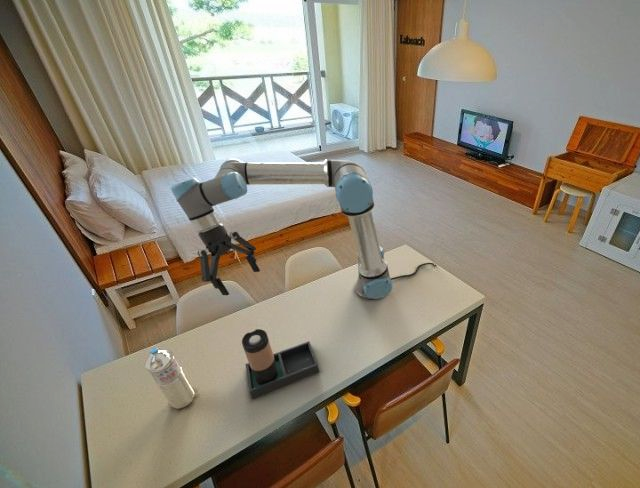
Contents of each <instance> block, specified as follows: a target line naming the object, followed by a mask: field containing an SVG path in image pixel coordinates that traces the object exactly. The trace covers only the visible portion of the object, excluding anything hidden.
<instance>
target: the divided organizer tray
mask: <svg viewBox="0 0 640 488" xmlns="http://www.w3.org/2000/svg"><path fill="white" fill-rule="evenodd" d="M273 355H274V359H275V363H276V367H277V371H278V375H277V378H276V379H275V380H273V381H271V382H268V383H266V384H263V385H260V384H258V383H257V381H256V379H255V377H254V374H253V372H252V370H251V367H250V365H249V362H247V363H245V371H246V375H247V376H246V377H247V385H248V391H249V395H250V397H251V400H253V399H256V398H258V397H261V396H263V395H266V394H268V393H271V392H273V391H275V390H278V389H280V388H283V387H285V386H288V385H291V384H293V383H295V382H298V381H300V380H303V379H306V378H308V377H310V376H313V375H315V374H317V373H320V369H319V364H318V361H317V359H316V356H315V352H314V350H313V347H312V345H311V342H310V340H307V341H306V342H303V343H300V344H298V345H295V346H291V347H289V348H286V349H283V350H280V351H278V352H275V353H273Z"/></svg>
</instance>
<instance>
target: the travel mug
mask: <svg viewBox="0 0 640 488" xmlns="http://www.w3.org/2000/svg"><path fill="white" fill-rule="evenodd" d="M241 345H242V348H243V351H244V354H245V357H246V359H247V363H249V365H250V367H251V370H252V372H253V374H254V377H255V379H256V381H257V383H258V384H260V385H263V384H266V383H268V382H271V381H273V380H275V379H276V378H277V375H278V371H277V367H276V363H275V359H274V355H273V354H274V352H273V348H272V345H271V343H270V339H269V336H268V332H267V331H265V330H264V329H260V328H257V329H254V330H253V331H251V332H246V333H245V334H244V335H243V337H242V339H241Z"/></svg>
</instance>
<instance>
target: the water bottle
mask: <svg viewBox="0 0 640 488" xmlns="http://www.w3.org/2000/svg"><path fill="white" fill-rule="evenodd" d="M144 366H145V369H146V371H147V372H149V374H150V376H151V377H152V378H153V380H154V382H155V384H156V386H157V387H158V388H159V390H160V391H161V393H162V394H163V396H164V397H165V399H166V400H167V402H168V404H169V405H170V406H171V407H172V408H174V409H177V410H180V409H184V408H186V407H187V406H189V405H190V404H191V403H192V402H193V401H194V399H195V397H196V396H195V395H196V394H195V390H194V388H193V386H192V384H191V383H190V381H189V379H188V378H187V376H186V374H185V373H184V370H183V368H182V367H181V366H180V365H179V363H178V361H177V359H176V358H175V354H174V353H173V351H171V350H169V349H158V348H157V347H152V348H151V349H150V350H149V355H148V356H147V358H146V360H145V363H144Z"/></svg>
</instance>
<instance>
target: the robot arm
mask: <svg viewBox="0 0 640 488" xmlns="http://www.w3.org/2000/svg"><path fill="white" fill-rule="evenodd" d="M251 185H256V186H257V185H325V187H327V188H334V190H335V197H336V201H337V202H338V204H339V207H340V210H341V214H342V215H343V216H346V217H347V219H348V223H349V226H350V230H351V234H352V237H353V240H354V244H355V248H356V252H357V253H356V257H357V272H358V273H357V274H358V275H357V279H356V282H355V284H354V285H355V286H354V287H355V292H356V294H357V295H358V296H359V297H360V298H363V299H366V300H378V299H379V300H380V299H382V298H385V297H387V296H388V295H389V294H390V293H391V292H392V290H393V287H394V286H393V280H397V279H400V278H409V277H413V276H414V275H416V274H417V272H418V270H419V268H422V267H423V266H427V265H428V266H429V265H431V266H434V267H436V266H437V264H435V263H433V262H424V263H421V264H419V265H418V266H416V268H415V271H414V272H412V273H410V274H404V275H399V276H394V277H391V276H390V271H389V267H388V262H387V261H386V259H385V251H384V247H382V246H380V243H379V239H378V235H377V231H376V226H375V221H374V217H373V213H372V210H373V209H374V208H375V202H374V190H373V187H372V184H371V182H370V180H369V178H368V175H367V172H366V171H365V169H364V167H363V166H361V165H360V164H359V163H357V162H355V161H351V160H344V159H343V160H342V159H325V160H324V161H323V162H245V161H242V160H240V159H239V158H228V159H226V160H225V161H224V162H223V163H222V164H221V166H220V167H219V170H218V171H217V173H216V174H215V176H214V178H211V179H208V180H206V181H205V180H204V181H202V182H200V181H199V180H198V179H197V178H196V177H192V178H189V179H185V180H183V181H179V182H176V183H175V184H173V185H171V187H170V190H171V192H172V194H173V196H174V198H175V200H176V202H177V203H178V205H179V206H180V208H181V209H182V211H183V212H184V214H185V215H186V217H187V219H188V220H189V222H190V223H191V225H192V227H193V229H194V230H195V232H197V233H198V237H199V238H200V241H202V243H203V244H204V246H205V248H204V249H200V250H198V251H197V256H198V257H199V262H200V263H199V265H200V274H201V281H202V282H204V283H206V282H207V283H211V285H212V286H213V287H214V289H217V290H218V291H219V292H220V293H221V295H222V296H229V295H230V292H229V291H228V288H227V287H226V286H225V284H224V283H223V281H222V280H221V278H220V277H217V275H218V268H219V262H220V259H221V256H223V255H225V254H226V253H228V252H230V251H235V252H238V253H241V254H243V255H246V256H245V259H246V261H247V263H248V265H249V266H250V268H251V270H252V272H253V273H259V272H261V269H260V267H259V266H258V264H257V262H258V261H257V258H256V256H255V251H256V250H257V247H256V246H254V245H253V244H252V243H250V242H248V240H246V239H244V238H243V237H242V236H241V235H240V234H239V232H238V231H231V232H229V233H228V231H227V229H226V227H225V226H224V224H223V223H221V222H222V220H221V219H220V217H219V215H218V214H217V212H216V211H215V209H214V206H217V205H221V204H223V203H226V202H229V201H232V200H237V199H239V198H241V197H243V196H246V194H247V193H248V186H251ZM232 240H234V241H235V242H236V243H238V244H240V245H241V246H239V245H237V244H236V243H233V242H232ZM209 254H210V257H209ZM209 258H210V261H209ZM434 264H435V265H434Z"/></svg>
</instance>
